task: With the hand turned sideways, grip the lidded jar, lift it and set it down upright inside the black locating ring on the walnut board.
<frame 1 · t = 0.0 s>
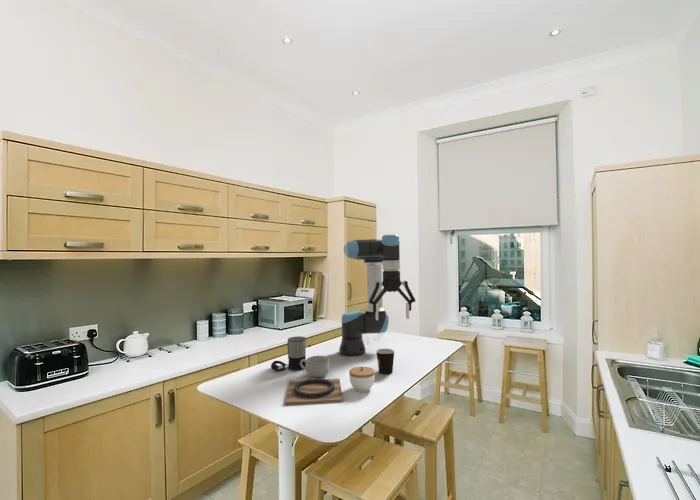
hand: (392, 319, 149), 28 cm above the table, tool pointing down, fingers open, 13 cm apart
milk frother: (289, 369, 172), on the table
lidded jar: (362, 389, 144), on the table
teacup: (315, 376, 161), on the table
coffee mug: (386, 371, 165), on the table
locating board: (314, 391, 142), on the table
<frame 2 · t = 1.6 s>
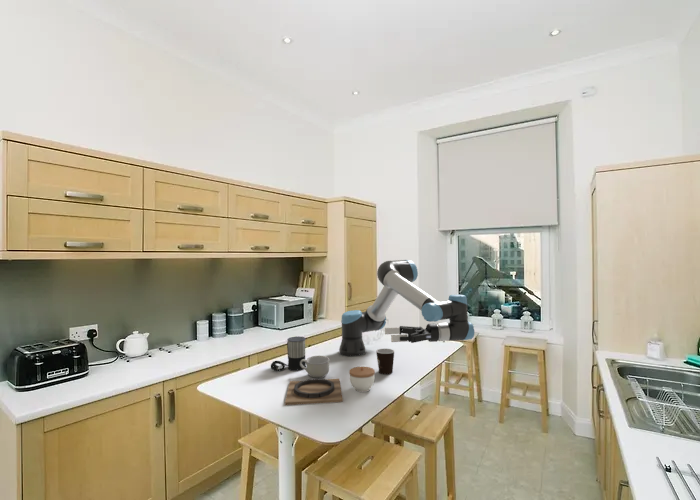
hand: (388, 334, 145), 22 cm above the table, tool horizontal, fingers open, 13 cm apart
nothing on the table moved.
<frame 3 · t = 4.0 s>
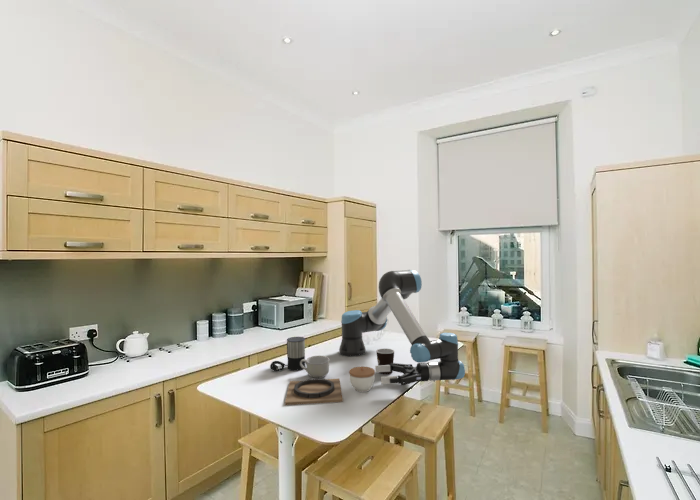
hand: (378, 374, 144), 6 cm above the table, tool horizontal, fingers open, 13 cm apart
nothing on the table moved.
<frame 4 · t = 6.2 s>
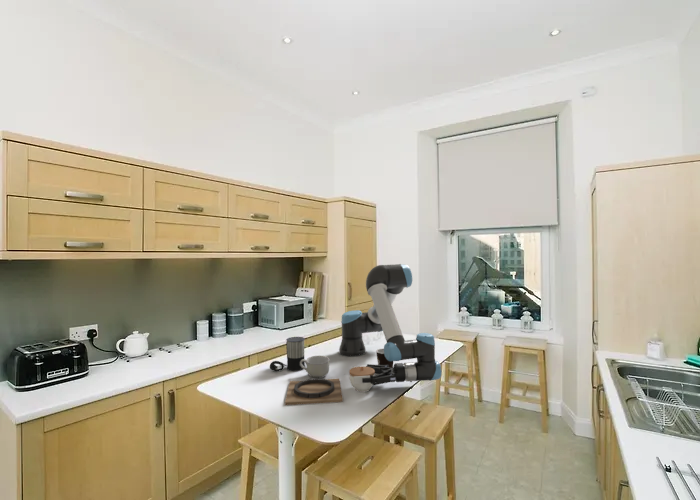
hand: (352, 375, 144), 6 cm above the table, tool horizontal, fingers closed on lidded jar, 11 cm apart
lidded jar: (362, 389, 144), on the table, touching gripper
everything else where it was.
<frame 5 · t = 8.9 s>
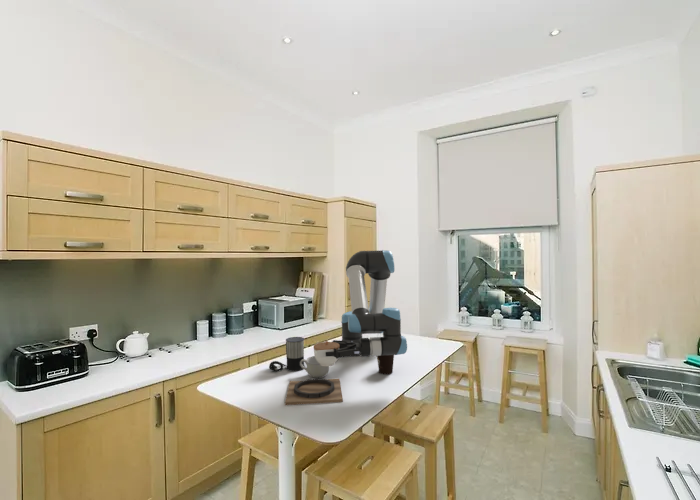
hand: (316, 349, 141), 18 cm above the table, tool horizontal, fingers closed on lidded jar, 11 cm apart
lidded jar: (327, 364, 141), point 11 cm above the table, touching gripper
when the fingers open (8 cm above the table, at t = 11.7 s): lidded jar drops 1 cm, resting on locating board.
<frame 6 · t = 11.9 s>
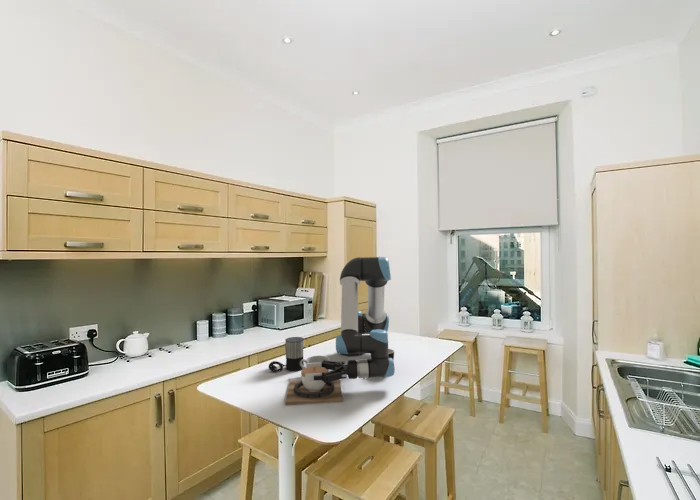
hand: (305, 371, 142), 8 cm above the table, tool horizontal, fingers open, 13 cm apart
lidded jar: (314, 389, 142), point 1 cm above the table, touching locating board
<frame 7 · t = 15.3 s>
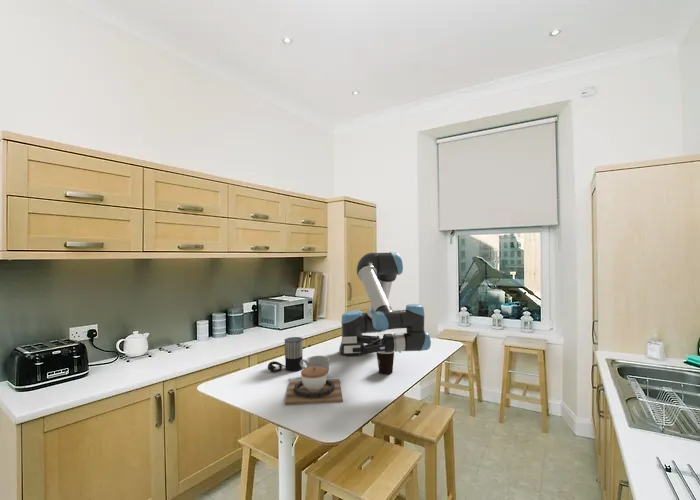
hand: (342, 344, 143), 19 cm above the table, tool horizontal, fingers open, 13 cm apart
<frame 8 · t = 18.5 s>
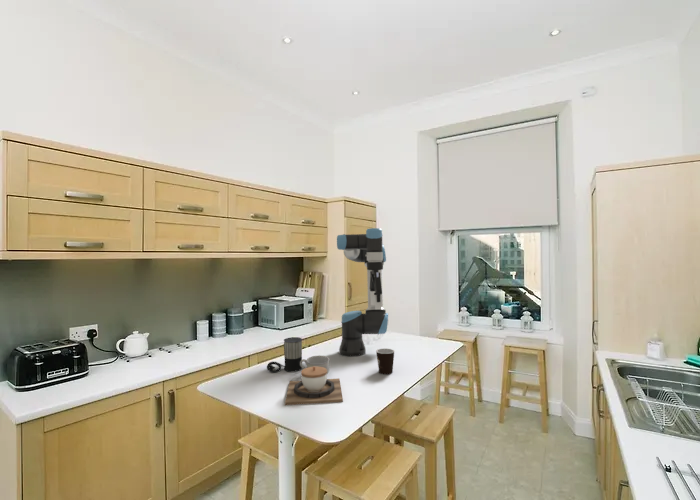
hand: (375, 307, 160), 32 cm above the table, tool pointing down, fingers open, 13 cm apart
at the end: lidded jar 0.1 cm off-centre on the locating board, point 0.8 cm above the locating board's base; lidded jar tilted 0°; the gripper is holding nothing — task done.
